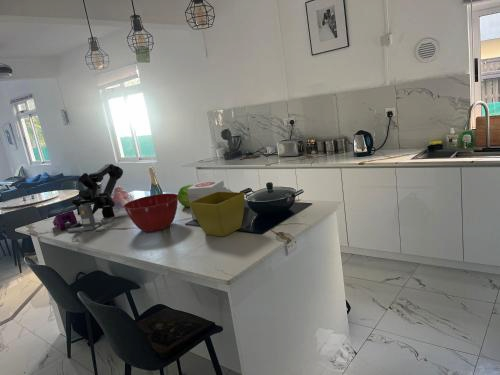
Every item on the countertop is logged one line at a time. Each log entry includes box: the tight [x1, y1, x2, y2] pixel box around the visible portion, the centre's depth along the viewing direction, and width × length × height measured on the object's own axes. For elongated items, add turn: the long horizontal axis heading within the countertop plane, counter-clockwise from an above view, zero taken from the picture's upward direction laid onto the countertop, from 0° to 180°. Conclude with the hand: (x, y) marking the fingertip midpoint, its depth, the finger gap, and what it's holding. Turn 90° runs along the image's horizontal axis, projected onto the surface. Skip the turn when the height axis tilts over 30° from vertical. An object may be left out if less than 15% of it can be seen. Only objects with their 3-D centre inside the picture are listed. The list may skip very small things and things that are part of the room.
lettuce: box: [177, 184, 194, 208], centre depth 229 cm, size 15×22×15 cm
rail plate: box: [67, 220, 103, 234], centre depth 218 cm, size 16×10×3 cm, turn 81°
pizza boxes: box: [187, 180, 233, 221], centre depth 207 cm, size 19×30×18 cm, turn 139°
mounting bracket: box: [52, 210, 78, 231], centre depth 230 cm, size 10×9×19 cm
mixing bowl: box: [123, 193, 179, 233], centre depth 197 cm, size 28×28×16 cm
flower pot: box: [190, 191, 245, 237], centre depth 175 cm, size 19×19×17 cm
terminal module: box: [78, 203, 96, 227], centre depth 216 cm, size 5×6×13 cm
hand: (85, 214), depth 215 cm, fingers open, 9 cm apart
